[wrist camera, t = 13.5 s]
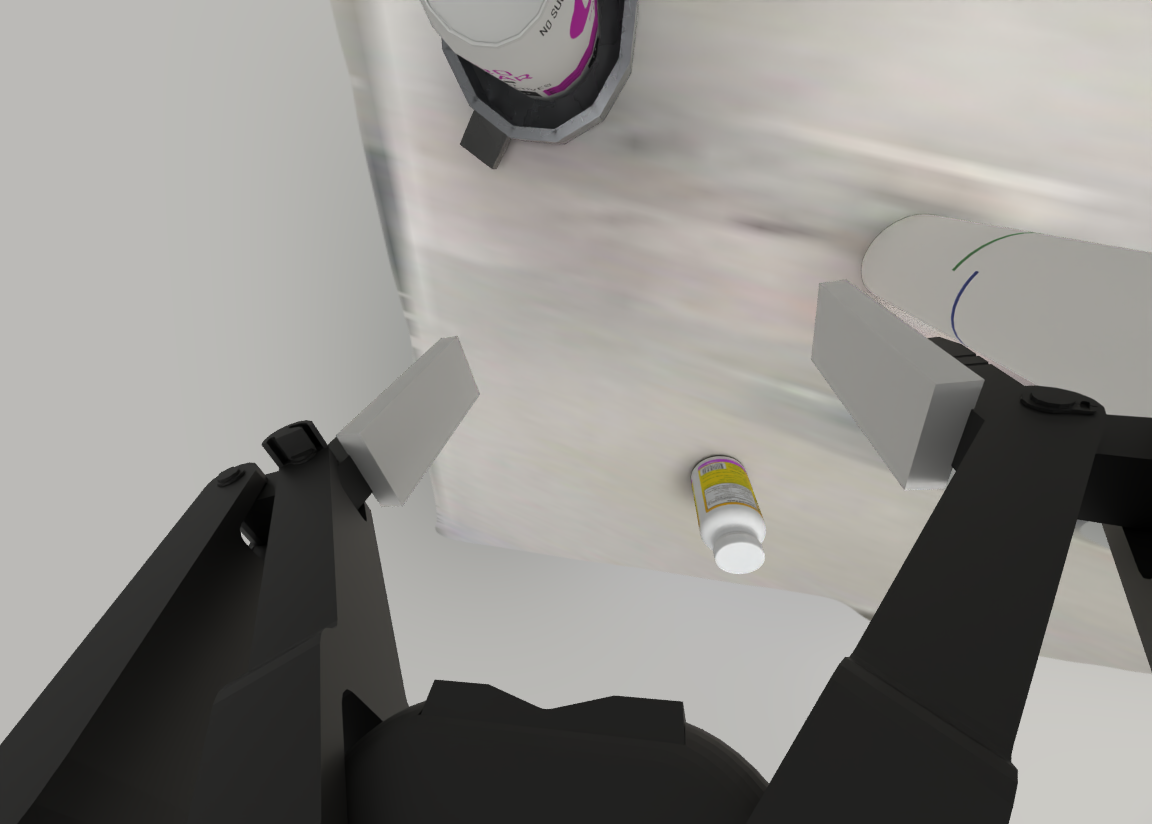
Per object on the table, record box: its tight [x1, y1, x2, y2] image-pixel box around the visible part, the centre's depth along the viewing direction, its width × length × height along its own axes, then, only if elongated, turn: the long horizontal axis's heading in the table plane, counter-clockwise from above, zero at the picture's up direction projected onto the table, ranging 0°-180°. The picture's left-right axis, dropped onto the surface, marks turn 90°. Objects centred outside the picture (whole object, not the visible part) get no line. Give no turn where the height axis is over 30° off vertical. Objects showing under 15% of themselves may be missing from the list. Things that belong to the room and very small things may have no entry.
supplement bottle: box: [691, 456, 766, 574], centre depth 45 cm, size 7×7×13 cm
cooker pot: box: [442, 0, 638, 169], centre depth 29 cm, size 19×14×4 cm
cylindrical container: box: [861, 214, 1152, 418], centre depth 25 cm, size 7×7×25 cm
